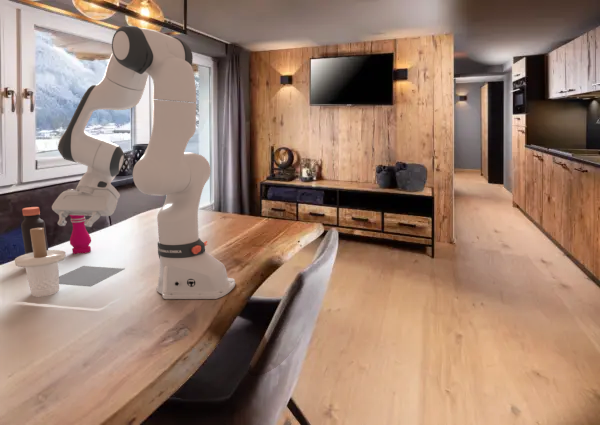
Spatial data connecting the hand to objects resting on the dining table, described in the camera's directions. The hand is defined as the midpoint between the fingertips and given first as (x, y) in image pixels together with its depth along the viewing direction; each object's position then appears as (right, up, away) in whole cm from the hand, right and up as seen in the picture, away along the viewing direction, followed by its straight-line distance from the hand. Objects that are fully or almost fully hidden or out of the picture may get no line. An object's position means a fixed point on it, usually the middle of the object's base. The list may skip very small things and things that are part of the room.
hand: (74, 225), depth 125 cm
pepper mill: (-14, -11, +32) cm, 37 cm away
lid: (-3, -9, -11) cm, 15 cm away
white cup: (-3, -19, -9) cm, 22 cm away
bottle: (-22, -14, +17) cm, 31 cm away
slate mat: (+2, -16, +4) cm, 17 cm away
